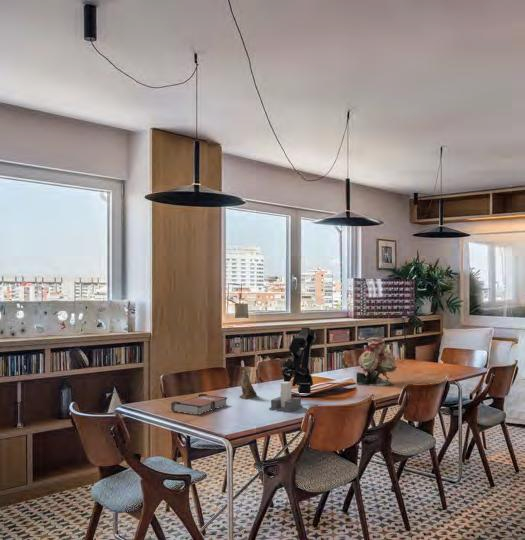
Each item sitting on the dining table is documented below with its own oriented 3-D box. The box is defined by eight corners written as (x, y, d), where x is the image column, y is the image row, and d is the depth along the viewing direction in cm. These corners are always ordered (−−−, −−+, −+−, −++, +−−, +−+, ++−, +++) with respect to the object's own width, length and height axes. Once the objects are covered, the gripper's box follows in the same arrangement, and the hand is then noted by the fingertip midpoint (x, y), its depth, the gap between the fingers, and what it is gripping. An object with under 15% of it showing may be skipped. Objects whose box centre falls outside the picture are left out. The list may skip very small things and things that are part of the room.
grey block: (285, 405, 297) (285, 381, 297) (291, 406, 295) (291, 382, 295) (280, 407, 292) (280, 382, 293) (286, 407, 290) (286, 383, 291)
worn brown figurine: (245, 403, 317) (241, 373, 314) (238, 402, 321) (234, 372, 318) (258, 396, 327) (254, 366, 324) (251, 394, 330) (247, 365, 327)
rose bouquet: (356, 386, 352) (356, 338, 353) (356, 378, 381) (355, 334, 382) (398, 387, 348) (398, 339, 349) (395, 379, 377) (394, 334, 378)
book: (198, 416, 280) (198, 406, 280) (171, 412, 289) (171, 402, 289) (228, 406, 303) (228, 396, 303) (202, 402, 311) (202, 393, 312)
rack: (282, 404, 303) (282, 395, 303) (302, 407, 296) (302, 397, 297) (269, 409, 291) (269, 400, 291) (289, 412, 284) (289, 402, 285)
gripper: (276, 355, 315) (268, 382, 309) (292, 352, 299) (284, 380, 293) (293, 362, 319) (285, 389, 313) (310, 359, 303) (302, 387, 297)
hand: (289, 386), depth 304 cm, fingers open, 9 cm apart
